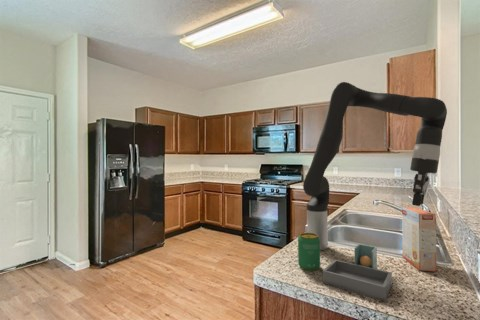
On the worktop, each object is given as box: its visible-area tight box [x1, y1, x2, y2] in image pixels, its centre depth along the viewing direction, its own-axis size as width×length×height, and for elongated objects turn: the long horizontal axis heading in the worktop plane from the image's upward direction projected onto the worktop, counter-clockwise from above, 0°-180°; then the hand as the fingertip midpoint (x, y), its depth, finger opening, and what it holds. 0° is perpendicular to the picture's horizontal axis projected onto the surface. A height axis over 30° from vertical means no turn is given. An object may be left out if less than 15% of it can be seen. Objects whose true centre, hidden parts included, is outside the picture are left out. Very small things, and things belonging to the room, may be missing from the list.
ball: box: [360, 256, 372, 267], centre depth 91 cm, size 4×4×4 cm
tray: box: [322, 259, 393, 302], centre depth 82 cm, size 18×12×4 cm, turn 51°
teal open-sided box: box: [354, 243, 378, 269], centre depth 91 cm, size 6×6×8 cm
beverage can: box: [297, 232, 321, 272], centre depth 96 cm, size 8×8×12 cm
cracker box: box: [401, 206, 437, 273], centre depth 97 cm, size 14×6×21 cm, turn 168°
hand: (417, 204), depth 87 cm, fingers open, 8 cm apart
